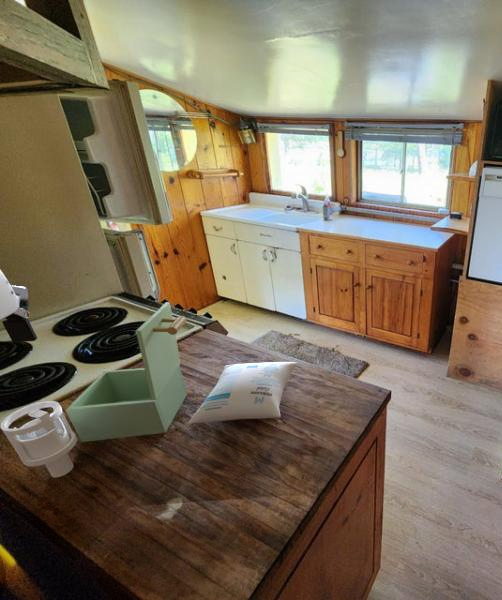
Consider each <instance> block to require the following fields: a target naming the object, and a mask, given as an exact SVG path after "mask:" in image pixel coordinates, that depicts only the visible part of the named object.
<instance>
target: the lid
mask: <svg viewBox="0 0 502 600" xmlns="http://www.w3.org/2000/svg"><path fill="white" fill-rule="evenodd" d="M187 320H188V319H187V317H186V316H184V315H179V316H177V317H173V311H172V307H171V302H170V301H165V302H164V303H163V304H162V305H161V307H159V308H158V309H157V310H156V311H155V312H154V313H153V314H152V315H151V316H150V317H148V319H146V321H144V322H143V323H142V324H141V325H140V326H139V327H138V328H137V329H136V330H135V333H136V337H137V342H138V346H139V350H140V355H141V359H142V364H143V368H145V373H146V377H147V381H148V386H149V390H150V395H151V399H152V400H156V399H157V398H158V396H159V395H160V393H161V392H162V390H163V389H164V387H165V386H166V384H167V383H168V381H169V380H170V378H171V377H172V376H173V374H174V373H175V371H176V370H177V368H178V367H180V365H181V363H182V362H181V357H180V352H179V347H178V341H177V336H176V334H178V332H179V331H180V330H181V329H182V328H183V326H184V325H185V324H186V322H187Z"/></svg>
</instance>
